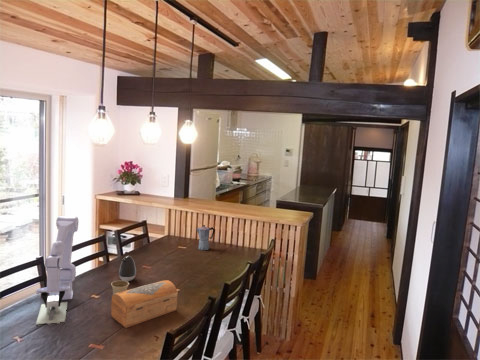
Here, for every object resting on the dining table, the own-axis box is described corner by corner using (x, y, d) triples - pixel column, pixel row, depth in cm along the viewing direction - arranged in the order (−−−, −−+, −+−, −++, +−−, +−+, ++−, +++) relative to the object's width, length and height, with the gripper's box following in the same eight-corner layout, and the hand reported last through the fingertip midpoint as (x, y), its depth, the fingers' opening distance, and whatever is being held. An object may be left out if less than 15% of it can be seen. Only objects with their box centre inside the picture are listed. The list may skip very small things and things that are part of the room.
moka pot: (193, 247, 306) (195, 223, 304) (211, 246, 311) (213, 223, 308) (195, 250, 297) (197, 226, 295) (214, 250, 302) (216, 226, 299)
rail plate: (41, 306, 189) (41, 300, 188) (67, 303, 193) (67, 298, 193) (35, 325, 170) (36, 319, 170) (64, 322, 175) (64, 316, 174)
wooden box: (159, 299, 207) (161, 275, 205) (177, 310, 196) (179, 285, 194) (108, 315, 186) (109, 288, 184) (125, 328, 174) (126, 300, 173)
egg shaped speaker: (114, 280, 228) (115, 256, 226) (127, 275, 237) (128, 252, 235) (126, 284, 223) (128, 260, 221) (139, 279, 232) (140, 255, 231)
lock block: (47, 307, 184) (48, 296, 184) (59, 306, 186) (59, 295, 185) (46, 313, 179) (46, 301, 178) (58, 312, 181) (58, 300, 180)
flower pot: (122, 293, 210) (122, 278, 209) (131, 299, 205) (132, 284, 204) (107, 298, 203) (107, 283, 202) (116, 304, 197) (117, 288, 196)
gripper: (35, 284, 174) (35, 311, 176) (69, 281, 180) (68, 308, 181) (37, 278, 181) (37, 304, 182) (70, 276, 186) (69, 302, 188)
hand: (53, 306), depth 182 cm, fingers closed on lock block, 5 cm apart
